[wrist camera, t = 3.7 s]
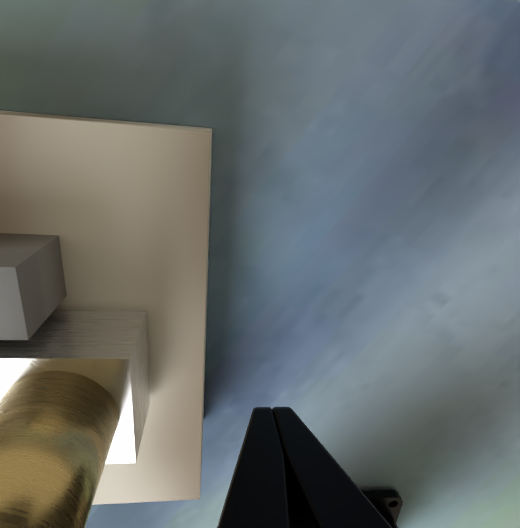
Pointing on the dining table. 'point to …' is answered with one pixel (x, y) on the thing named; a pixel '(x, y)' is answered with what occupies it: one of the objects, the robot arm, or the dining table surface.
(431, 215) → the dining table surface
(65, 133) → the door mockup
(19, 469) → the slide bolt
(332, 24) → the dining table surface
